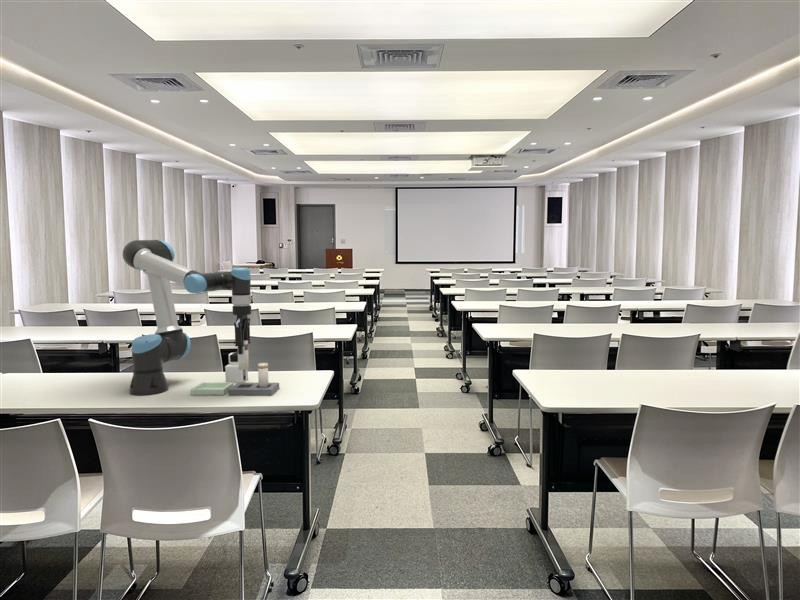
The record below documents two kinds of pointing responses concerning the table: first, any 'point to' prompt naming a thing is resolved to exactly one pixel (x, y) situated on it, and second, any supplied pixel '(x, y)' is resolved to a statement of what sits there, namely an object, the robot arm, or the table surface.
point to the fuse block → (252, 389)
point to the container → (235, 370)
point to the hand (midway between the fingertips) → (243, 360)
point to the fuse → (263, 375)
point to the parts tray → (211, 388)
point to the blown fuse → (245, 364)
